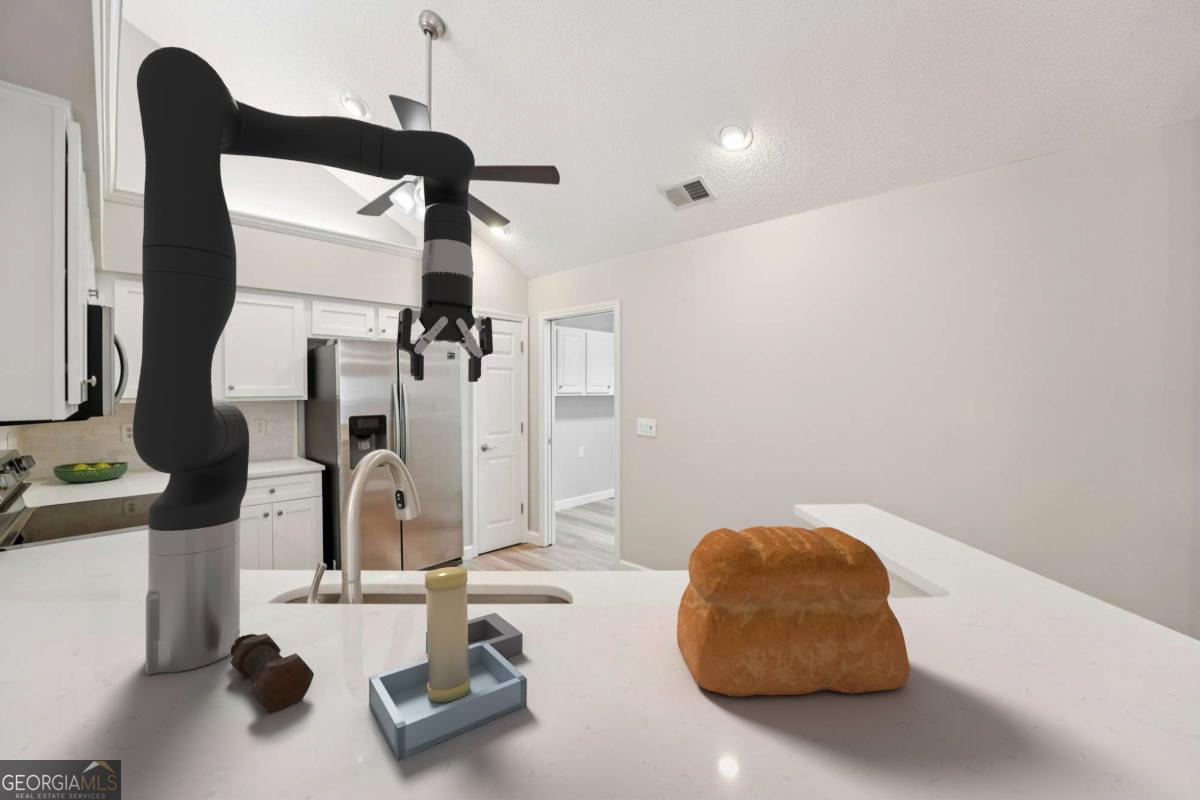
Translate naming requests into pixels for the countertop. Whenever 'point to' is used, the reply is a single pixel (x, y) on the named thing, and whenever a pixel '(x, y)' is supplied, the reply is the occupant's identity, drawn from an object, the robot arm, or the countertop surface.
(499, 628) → the fuse holder
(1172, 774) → the countertop surface
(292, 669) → the bolt
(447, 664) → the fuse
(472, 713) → the parts tray
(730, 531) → the bread
